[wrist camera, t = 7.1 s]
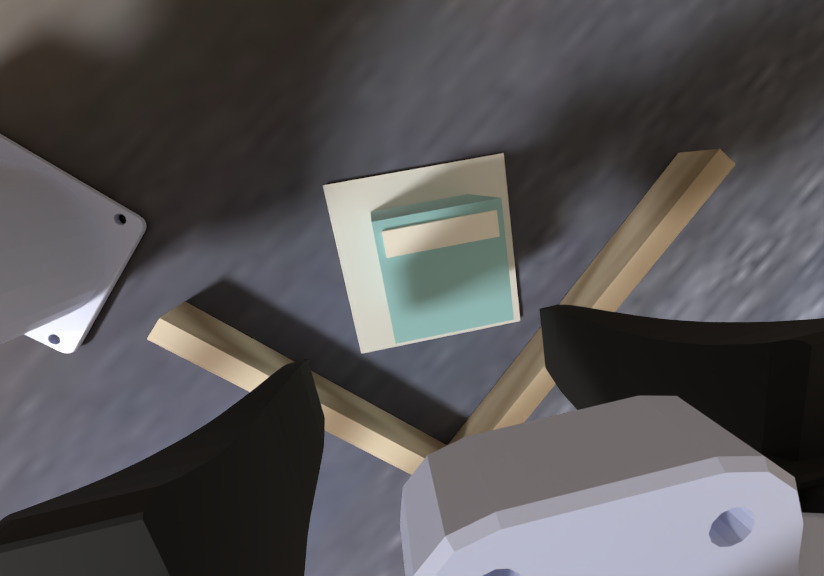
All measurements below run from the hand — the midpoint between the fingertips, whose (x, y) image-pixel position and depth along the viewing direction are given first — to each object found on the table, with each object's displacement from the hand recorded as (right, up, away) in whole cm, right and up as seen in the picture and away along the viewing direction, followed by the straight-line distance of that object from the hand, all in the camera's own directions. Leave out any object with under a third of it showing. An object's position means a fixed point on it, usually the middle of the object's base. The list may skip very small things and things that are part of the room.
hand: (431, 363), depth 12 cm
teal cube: (0, +4, +8) cm, 9 cm away
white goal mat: (0, +4, +9) cm, 10 cm away
